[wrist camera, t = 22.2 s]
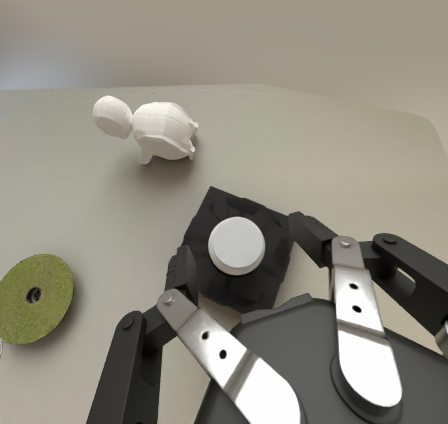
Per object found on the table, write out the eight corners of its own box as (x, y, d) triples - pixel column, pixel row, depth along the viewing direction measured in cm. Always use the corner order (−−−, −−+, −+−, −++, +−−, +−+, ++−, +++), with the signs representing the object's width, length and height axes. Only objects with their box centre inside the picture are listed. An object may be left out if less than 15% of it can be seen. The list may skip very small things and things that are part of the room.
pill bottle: (263, 250, 26) (287, 242, 15) (234, 280, 24) (238, 295, 14) (234, 221, 27) (237, 196, 16) (206, 249, 26) (189, 241, 15)
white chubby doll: (193, 138, 35) (111, 115, 31) (202, 105, 28) (94, 67, 23) (188, 174, 33) (98, 155, 28) (196, 149, 25) (75, 117, 21)
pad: (263, 320, 23) (268, 328, 20) (171, 274, 25) (163, 276, 22) (294, 224, 27) (302, 220, 24) (211, 191, 29) (209, 184, 26)
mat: (92, 313, 24) (81, 317, 22) (12, 354, 23) (-7, 363, 21) (75, 241, 27) (63, 240, 25) (3, 275, 26) (-15, 277, 24)
